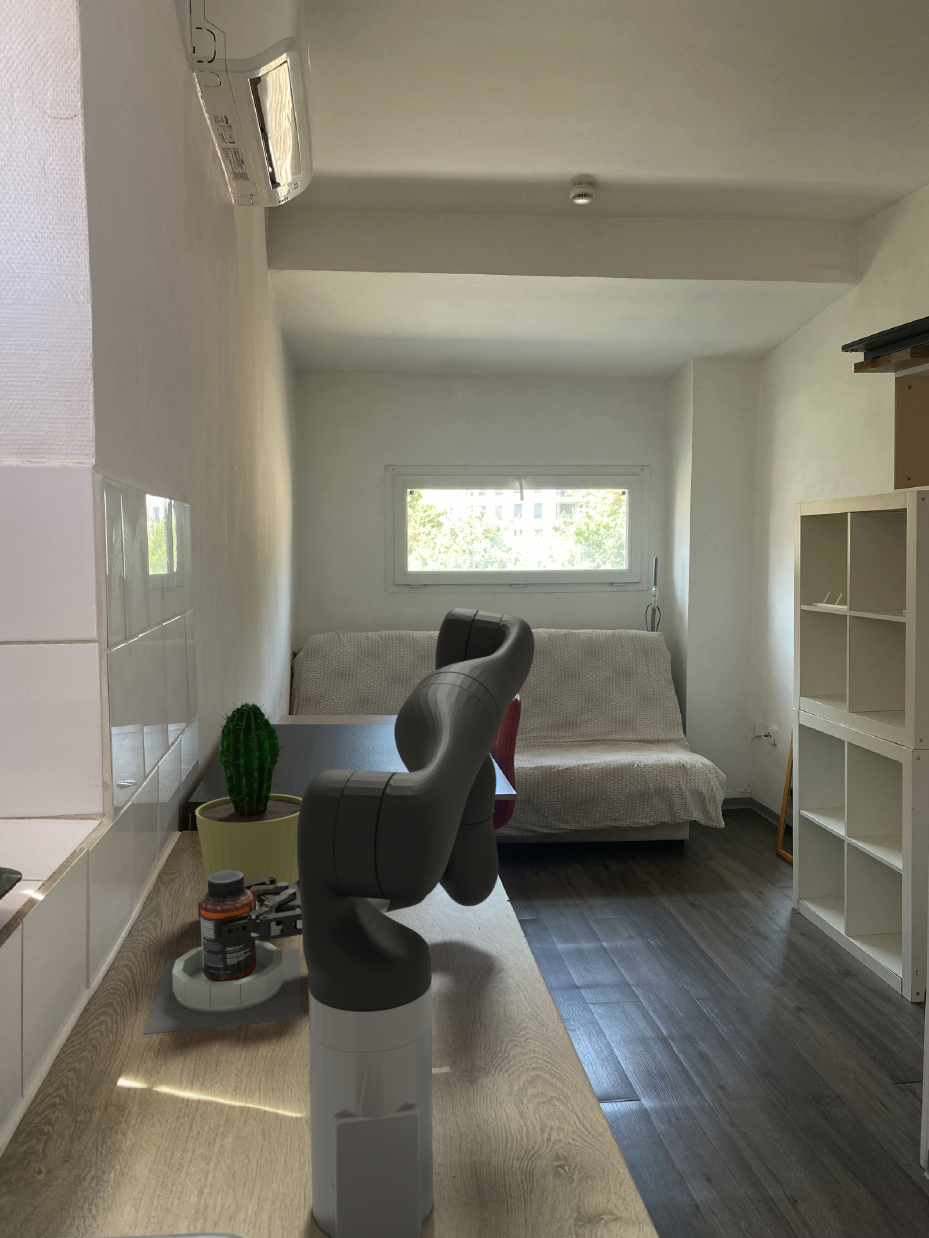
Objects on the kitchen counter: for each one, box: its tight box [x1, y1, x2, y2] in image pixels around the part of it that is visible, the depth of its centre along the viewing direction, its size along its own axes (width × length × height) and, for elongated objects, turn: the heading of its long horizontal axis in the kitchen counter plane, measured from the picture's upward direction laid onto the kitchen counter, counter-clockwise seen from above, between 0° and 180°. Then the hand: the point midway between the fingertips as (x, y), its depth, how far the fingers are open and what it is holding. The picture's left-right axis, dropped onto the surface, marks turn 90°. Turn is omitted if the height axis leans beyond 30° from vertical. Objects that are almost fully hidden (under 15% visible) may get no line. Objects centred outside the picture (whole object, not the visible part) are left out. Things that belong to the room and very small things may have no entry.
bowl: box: [172, 940, 283, 1013], centre depth 105 cm, size 12×12×3 cm
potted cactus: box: [194, 701, 303, 908], centre depth 128 cm, size 15×15×30 cm
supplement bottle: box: [199, 870, 256, 982], centre depth 105 cm, size 6×6×11 cm
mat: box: [143, 948, 302, 1035], centre depth 105 cm, size 18×16×1 cm
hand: (206, 920), depth 103 cm, fingers closed on supplement bottle, 6 cm apart
